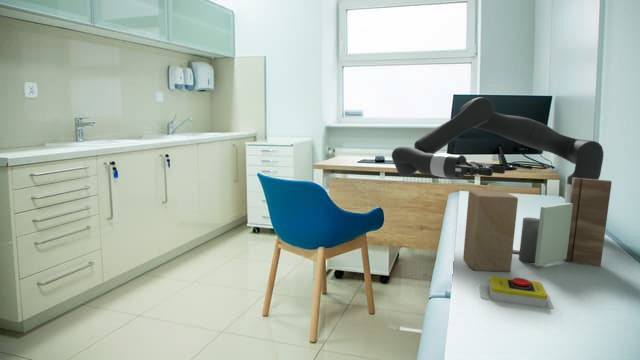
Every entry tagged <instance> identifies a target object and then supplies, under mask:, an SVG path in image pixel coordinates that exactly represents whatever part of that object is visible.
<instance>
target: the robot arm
mask: <svg viewBox="0 0 640 360" xmlns="http://www.w3.org/2000/svg"><path fill="white" fill-rule="evenodd" d="M458 112H459V113H458V114H456V115H455V116H454V117H453V118H451V119H449V120H448V121H446V122H445V123H443V124H441V125H438V126H437V127H435V128H434V129H432V130H430V131H429V132H427V133H425V135H423V136H421V137H420V138H419V139H417V140H416V141H415V142H414V145H413V146H414V147H412V146H407V145H401V146H398V147H395V148H394V149H393V150H392V152H391V159H392V162H393V164H394V166H395V168H396V171H397V172H398V174H399V176H402V177H409V176H412V175H413V174H415V173H417V172H419V174H424V175H430V176H437V177H440V178H447V179H454V180H461V179H464V177H465V176H470V177H474V176H476V177H477V176H483V177H492V176H493V174H501V175H503V174H505V172H506V166H504V165H503V166H502V165H495V164H493V163H487V162H486V163H485V162H476V161H467V158H466V156H465V155H462V154H451V153H437V152H439V151H440V150H442V149H443V148H444V147H445V146H448V144H450V143H451V142H453V141H454V140H455V139H456V138H458V137H460V136H461V135H462V134H464V133H466V132H468V131H469V130H471V129H473V128H475V129H478V130H483V131H486V132H489V133H493V134H496V135H498V136H500V137H502V138H505V139H508V140H510V141H513V142H515V143H518V144H521V145H523V146H526V147H529V148H532V149H535V150H539V151H543V152H547V153H550V154H553V155H556V156H558V157H560V158H561V159H564V160H566V161H568V162H570V163H571V164H574V165H575V166H574V171H573V172H572V174H569V175H567V179H566V186H565V187H566V189H565V195H564V196H565V197H564V203H570V195H571V186H572V178H585V179H597V180H600V177H601V173H602V167H603V162H604V148H603V146H602V145H601V143H599V142H598V141H595V140H589V139H579V138H574V137H570V136H567V135H563V134H561V133H558V132H557V131H556V130H554V129H553V128H551V127H550V126H548V125H546V124H544V123H542V122H540V121H537V120H534V119H532V118H529V117H525V116H520V115H509V114H503V113H500V112H499V113H498V112H496V111H495V107H494V104H493V102H492V101H491V100H490V99H488V98H486V97H482V96H481V97H476V98H472V99H471V100H469V101H468V102H465V103H464V104H463V105H462V106H461V107H460V110H459V111H458Z"/></svg>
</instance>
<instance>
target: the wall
mask: <svg viewBox="0 0 640 360" xmlns="http://www.w3.org/2000/svg"><path fill="white" fill-rule="evenodd" d="M612 184H613V183H612V180H607V179H606V180H605V179H598V180H597V179H585V178H572V186H571V195H570V203H573V209H572V217H571V226H570V234H569V242H568V250H567V259H564V260H562V261H563V262H568V263H573V264H574V263H576V264H581V265H589V266H593V267H594V266H595V267H602V266H601V265H602V258H603V251H604V242H605V238H606V237H605V236H606V227H607V221H608V211H609V205H610V199H611V197H610V196H611V191H612V190H611V189H612ZM519 253H520V250H515V249H513V252H512V254H517V255H519Z"/></svg>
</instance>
